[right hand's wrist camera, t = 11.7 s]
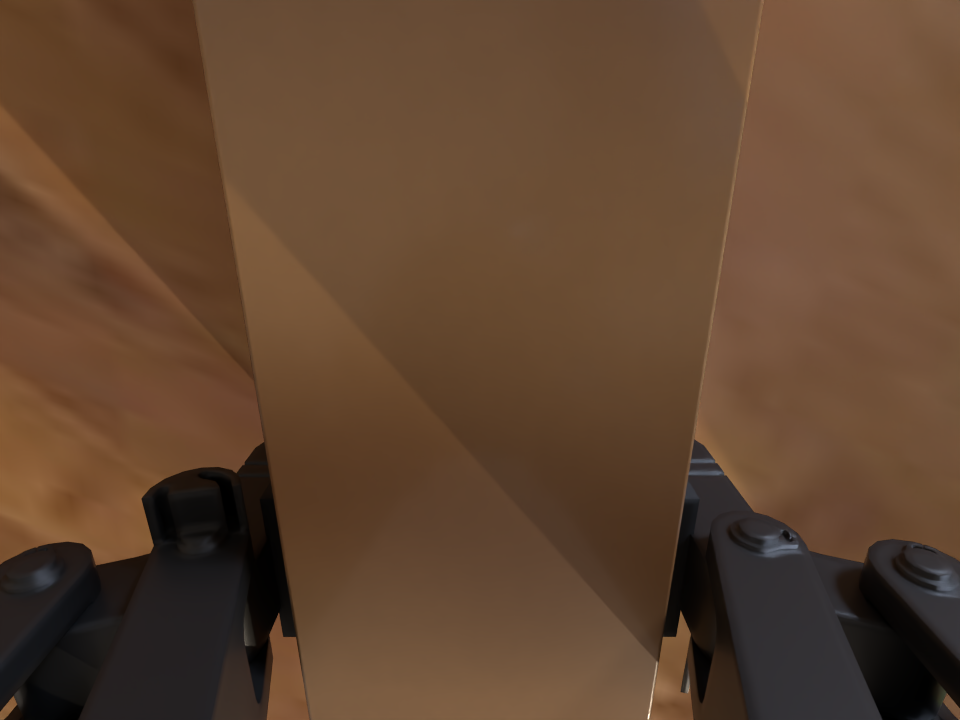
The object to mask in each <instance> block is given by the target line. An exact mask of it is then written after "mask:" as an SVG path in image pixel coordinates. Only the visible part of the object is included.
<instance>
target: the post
mask: <svg viewBox="0 0 960 720" xmlns="http://www.w3.org/2000/svg"><path fill="white" fill-rule="evenodd" d="M192 3H193V9H194V15H195V21H196V27H197V33H198V39H199V46H200V52H201V58H202V64H203V70H204V76H205V82H206V88H207V94H208V101H209V107H210V113H211V119H212V125H213V131H214V137H215V143H216V150H217V156H218V162H219V168H220V174H221V180H222V186H223V192H224V198H225V205H226V211H227V217H228V223H229V229H230V235H231V241H232V247H233V253H234V260H235V266H236V272H237V278H238V284H239V290H240V296H241V302H242V309H243V315H244V321H245V327H246V333H247V339H248V345H249V351H250V357H251V364H252V370H253V376H254V382H255V388H256V394H257V400H258V406H259V413H260V419H261V425H262V431H263V437H264V443H265V449H266V455H267V461H268V468H269V474H270V480H271V486H272V492H273V498H274V504H275V510H276V517H277V523H278V529H279V535H280V541H281V547H282V553H283V559H284V565H285V572H286V578H287V584H288V590H289V596H290V602H291V608H292V614H293V621H294V627H295V633H296V639H297V645H298V651H299V657H300V663H301V669H302V676H303V682H304V688H305V694H306V700H307V706H308V712H309V718H310V720H650V714H651V708H652V701H653V695H654V689H655V682H656V676H657V670H658V664H659V657H660V651H661V645H662V638H663V632H664V626H665V620H666V613H667V607H668V601H669V594H670V588H671V582H672V575H673V569H674V563H675V557H676V550H677V544H678V538H679V531H680V525H681V519H682V513H683V506H684V500H685V494H686V487H687V481H688V475H689V469H690V462H691V456H692V450H693V443H694V437H695V431H696V425H697V418H698V412H699V406H700V399H701V393H702V387H703V381H704V374H705V368H706V362H707V355H708V349H709V343H710V336H711V330H712V324H713V318H714V311H715V305H716V299H717V292H718V286H719V280H720V274H721V267H722V261H723V255H724V248H725V242H726V236H727V230H728V223H729V217H730V211H731V204H732V198H733V192H734V186H735V179H736V173H737V167H738V160H739V154H740V148H741V141H742V135H743V129H744V123H745V116H746V110H747V104H748V97H749V91H750V85H751V79H752V72H753V66H754V60H755V53H756V47H757V41H758V35H759V28H760V22H761V16H762V9H763V3H764V0H192Z"/></svg>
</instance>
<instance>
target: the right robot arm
mask: <svg viewBox="0 0 960 720" xmlns="http://www.w3.org/2000/svg"><path fill="white" fill-rule="evenodd" d="M142 502H143V506H144V510H145V514H146V518H147V521H148V525H149V529H150V533H151V536H152V540H153V544H154V547H153V549H152V551H151V553H150V554H146V555H143V556H139V557H135V558H130V559H125V560H120V561H115V562H111V563H106V564H101V565H96V564H95V561H94V558H93V555H92V552H91V550H90V549H89V548H87V547H86V546H85V545H84V544H81V543H74V542H61V543H53V544H47V545H43V546H38V547H37V548H36V547H35V548H32V549H30V550H27V551H24V552H23V553H21V554H19V555H17V556H15V557H13V558H11V559H9V560H7V561H5V562H3V563H2V564H0V711H1V710H2V709H3V707H4V706H5V705H6V704H7V703H8V702H9V700H10V699H11V698H12V697H13V696H14V698H15V700H16V702H17V706H16V707H15V708H14V709H13V710H12V712H11V713H10V714H9V715H8V716H7V717H6V718H5V719H4V720H267V710H268V701H269V691H270V682H271V672H272V663H273V654H272V648H271V642H270V637H269V634H270V632H271V629H272V627H273V625H274V622H275V620H276V618H277V615H278V613H279V614H280V620H281V626H282V632H283V637H296V633H295V627H294V621H293V614H292V608H291V602H290V596H289V590H288V584H287V578H286V572H285V565H284V559H283V553H282V547H281V541H280V535H279V529H278V523H277V517H276V510H275V504H274V498H273V492H272V486H271V480H270V474H269V468H268V461H267V455H266V449H265V443H262V444H261V445H259V446H257V447H256V448H255V449H254V450H253V452H252V453H251V455H250V456H249V457H248V459H247V460H246V461H245V465H242V467H241V468H240V469H239V471H238V472H237V473H235V472H234V471H232V470H229V469H225V468H220V467H208V468H198V469H193V470H189V471H184V472H181V473H178V474H176V475H173V476H171V477H168V478H166V479H164V480H162V481H161V482H159V483H158V484H156V485H155V486H153V487H151V488H150V489H149V490H148V492H147V493H146V494H145V495H144V496H143V497H142ZM680 611H681V612H682V614H683V616H684V619H685V621H686V623H687V626H688V628H689V630H690V632H691V637H690V642H689V648H688V653H687V658H686V664H685V669H684V675H683V680H682V686H681V692H683V693H688V691H689V685H690V690H691V699H692V709H693V718H694V720H958V719H957V718H956V717H955V716H954V715H953V714H952V713H951V712H950V710H949V709H948V708H947V707H946V705H945V704H944V703H943V700H944V698H945V696H946V694H947V693H948V695H949V696H950V697H951V698H952V699H953V701H954V702H955V703H956V704H957V705H958V707H959V708H960V562H959V561H958V560H956V559H955V558H953V557H951V556H949V555H947V554H944V553H942V552H940V551H938V550H937V549H935V548H932V547H929V546H927V545H922V544H920V543H915V542H911V541H903V540H895V539H890V540H883V541H877V542H876V543H874V544H873V545H872V546H871V547H869V549H868V553H867V556H866V559H865V562H864V563H861V562H856V561H851V560H846V559H841V558H837V557H832V556H827V555H822V554H819V553H815V552H811V551H809V550H808V548H807V546H806V544H805V543H804V541H803V540H802V539H801V537H800V536H799V535H798V533H796V532H795V531H794V530H792V529H791V528H790V527H788V526H787V525H785V524H784V523H782V522H780V521H778V520H775V519H773V518H771V517H769V516H766V515H762V514H758V513H754V512H753V510H752V509H751V508H750V506H749V505H748V504H747V502H746V501H745V500H744V498H743V497H742V496H741V494H740V493H739V492H738V490H737V489H736V488H735V486H734V485H733V484H732V482H731V481H730V480H729V478H728V477H727V476H724V472H723V470H722V469H721V468H720V466H719V465H718V464H717V463H715V460H714V458H713V457H712V456H711V454H710V453H709V452H708V450H707V449H706V448H705V446H704V445H702V444H700V443H699V442H697V441H696V440H694V443H693V450H692V456H691V462H690V469H689V475H688V481H687V487H686V494H685V500H684V506H683V513H682V519H681V525H680V531H679V538H678V544H677V550H676V557H675V563H674V569H673V575H672V582H671V588H670V594H669V601H668V607H667V613H666V620H665V626H664V632H663V637H676V634H677V628H678V623H679V617H680Z"/></svg>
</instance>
